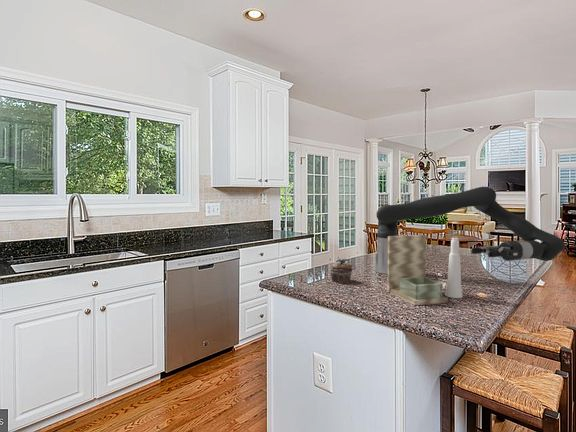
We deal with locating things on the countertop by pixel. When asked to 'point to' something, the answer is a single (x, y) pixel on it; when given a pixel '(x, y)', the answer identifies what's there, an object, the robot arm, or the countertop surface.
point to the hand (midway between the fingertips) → (480, 252)
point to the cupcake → (341, 271)
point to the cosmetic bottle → (454, 272)
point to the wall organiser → (411, 271)
